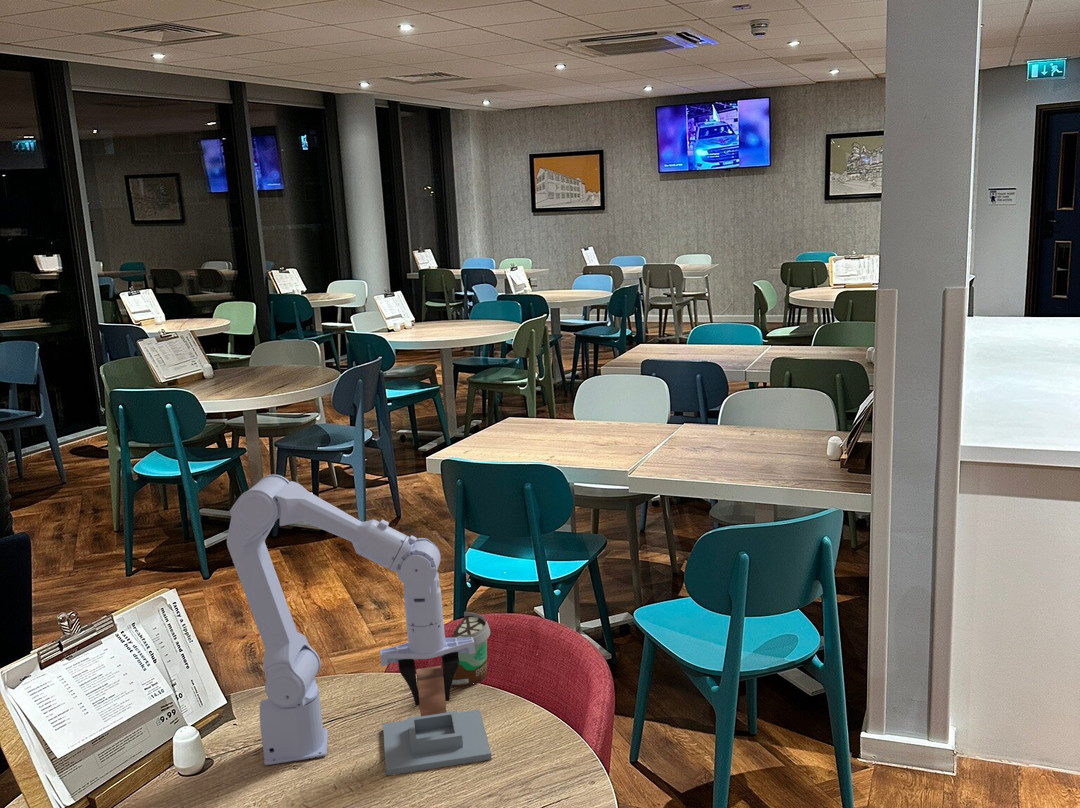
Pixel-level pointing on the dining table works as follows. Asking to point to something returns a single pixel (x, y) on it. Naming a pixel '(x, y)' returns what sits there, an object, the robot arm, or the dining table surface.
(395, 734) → the base board
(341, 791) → the dining table surface
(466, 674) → the food container
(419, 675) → the terracotta block
